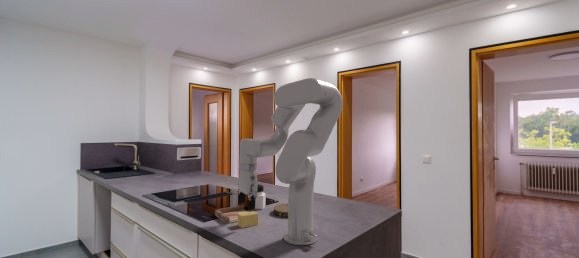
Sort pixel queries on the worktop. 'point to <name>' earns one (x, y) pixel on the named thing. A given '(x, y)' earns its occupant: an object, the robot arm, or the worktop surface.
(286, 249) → the worktop surface
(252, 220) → the mustard block
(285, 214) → the tan flat round disc
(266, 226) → the worktop surface
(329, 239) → the worktop surface
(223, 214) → the tray
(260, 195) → the medicine bottle
